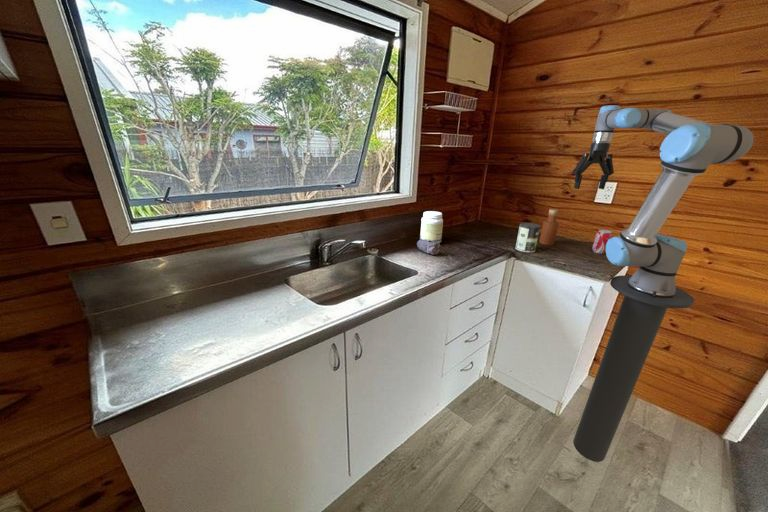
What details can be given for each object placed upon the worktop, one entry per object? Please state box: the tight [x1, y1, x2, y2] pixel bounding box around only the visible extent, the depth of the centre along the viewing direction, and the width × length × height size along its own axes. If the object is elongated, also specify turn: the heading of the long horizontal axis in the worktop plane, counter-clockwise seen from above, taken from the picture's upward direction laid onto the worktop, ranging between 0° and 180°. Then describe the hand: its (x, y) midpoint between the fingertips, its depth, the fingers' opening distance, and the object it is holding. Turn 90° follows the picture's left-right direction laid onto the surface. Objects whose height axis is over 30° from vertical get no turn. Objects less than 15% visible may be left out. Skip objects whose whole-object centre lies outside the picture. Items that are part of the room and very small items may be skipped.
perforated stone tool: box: [416, 239, 441, 256], centre depth 157 cm, size 15×5×7 cm, turn 36°
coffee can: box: [514, 221, 542, 254], centre depth 164 cm, size 10×10×14 cm
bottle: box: [538, 214, 560, 246], centre depth 176 cm, size 8×8×17 cm
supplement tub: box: [419, 210, 444, 244], centre depth 172 cm, size 12×12×17 cm
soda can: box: [591, 229, 613, 255], centre depth 163 cm, size 7×7×12 cm
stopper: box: [548, 208, 559, 217], centre depth 173 cm, size 5×5×7 cm
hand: (588, 188), depth 149 cm, fingers open, 13 cm apart
